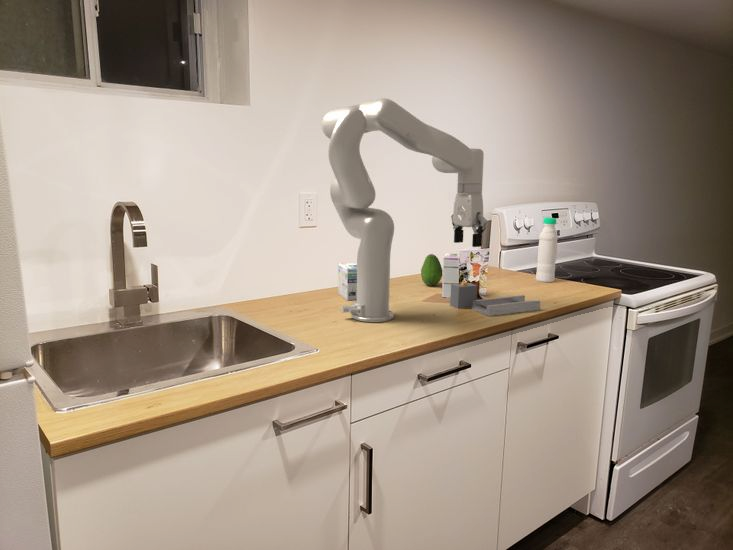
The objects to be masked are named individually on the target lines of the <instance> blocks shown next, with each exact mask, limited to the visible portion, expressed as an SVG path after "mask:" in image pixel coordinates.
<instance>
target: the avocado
mask: <svg viewBox="0 0 733 550" xmlns="http://www.w3.org/2000/svg"><path fill="white" fill-rule="evenodd" d="M420 275H421V280H422V282H423V283H424V284H425V285H426V286H430V287H432V285H433V286H435V285H438V284H439V283H440V282H441V280H442V279H443V266H442V265H441V262H440V260H439V258H438V256H437V255H435V254H433V253H429V254H428V255H426V257H425V259H424V262H423V264H422V266H421V269H420Z"/></svg>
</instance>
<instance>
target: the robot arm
mask: <svg viewBox="0 0 733 550" xmlns="http://www.w3.org/2000/svg"><path fill="white" fill-rule="evenodd" d="M321 129H322V133H323V134H324V135H325V136H326V138H328V139H329V144H328V150H327V151H328V153H327V155H328V160H329V161H328V162H329V164H330V166H331V169H332V172H333V174H334V177H335V178H334V179H333V180H332V182H331V184H330V189H329V191H330V199H331V201H332V203H333V206H334V208H335V210H336V212H337V215H338V217H339V219H340V220H341V222H342V224H343V226H344V228H345V229H346V231H347V233H348V234H349V235H350V236H352V237H354V238H355V239H358V240H360V241H359V246H358V249H357V250H358V251H357V255H356V256H357V258H356V264H357V300H352V304H350V305H341V306H340V312H341V313H349V314H350V316H351V318H352V319H354V320H355V321H359V322H363V323H381V322H388V321H391V320H393V319H394V318H395V313H394V312H393V311H392V310H390V287H391V284H390V281H391V279H390V277H391V250H392V245H393V244H392V243H393V238H394V233H395V224H394V223H395V222H394V220H393V217H392V216H391V215H390V214H389V213H388V212H387V211H385V210H383V209H379V208H373V207H370V206H372V205H373V204H374V202H375V200H376V196H377V195H376V190H375V186H374V184H373V182H372V180H371V177H370V175H369V173H368V170H367V169H366V166H365V164H364V162H363V159H362V155H361V152H360V148H361V147H360V145H361V142H362V139H363V136H364V134H367V133H371V132H377V131H380V132H382V133H383V134H385V135H386V136H387V137H390V138H391V139H392V140H393V141H394V142H395V141H396V142H397V143H398V144H400V145H401V146H403V147H404V148H406V149H407V150H410V151H413V152H415V153H419V154H420V153H421V154H423V155H424V154H425V155H428V156H431V157H432V158H431V163H432V166H433V168H434V170H437V172H440V173H444V174H457V186H456V188H457V190H456V192H457V193H456V194H455V198H454V203H453V212H452V213H453V214H451V216H450V218H451V224H452V226H453V227H452V229H453V232H454V233H453V243H456V244H458V243H463V242H464V228H471V229H472V231H473V233H472V243H471V246H472V248H479V247H480V248H481V247H482V245H483V234H484V231H485V230H486V229H487V228H486V227H487V224H488V220H487V218H485V216H484V200H483V177H484V155H485V154H484V150H483V149H481V148H470V147H468V145H466V144H465V143H463V141H461V140H459V139H458V138H456V137H454V136H453V135H451V134H449V133H447V132H445V131H443V130H441V129H439V128H436V127H434V126H432V125H429V124H427V123H425V122H424V121H422V120H421V119H419V118H417V117H416V116H415V115H413V114H412V113H410V111H408V110H406V109H405V108H403V106H401V105H399V104H398V103H397V102H395V101H393V100H392V99H390V98H385V97H384V98H383V97H382V98H378V99H371V100H369V101H363V102H361V103H357V104H353V105H349V106H345V107H341V108H337V109H331V110H329V111H328V112H326V114H325V115H324V116H323V118H322V121H321Z"/></svg>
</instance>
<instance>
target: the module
mask: <svg viewBox="0 0 733 550" xmlns="http://www.w3.org/2000/svg"><path fill="white" fill-rule="evenodd" d="M477 298H478V285H477V284H474V283H472V282H471V283H470V282H467V281H463V282H461V281H460V284H451V297H450V298H449V303H450V304H449V306H450V307H452V306H453V308H455V309H457V308H458V310H460V308H461V309H469V308H468V307H470V308H472V306H473V300H478V299H477Z"/></svg>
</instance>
